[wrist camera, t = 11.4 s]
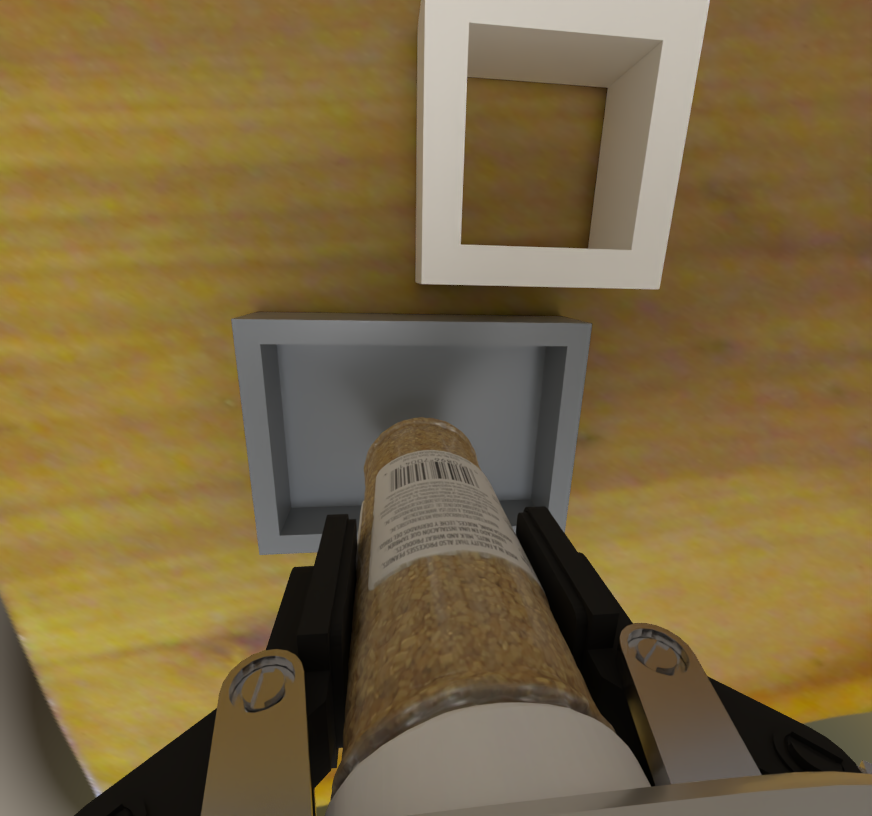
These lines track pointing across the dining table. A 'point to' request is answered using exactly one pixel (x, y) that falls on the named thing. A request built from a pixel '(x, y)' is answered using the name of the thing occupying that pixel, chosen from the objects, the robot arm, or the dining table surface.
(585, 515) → the dining table surface
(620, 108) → the frame
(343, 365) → the charcoal tray
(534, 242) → the dining table surface
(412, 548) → the sprinkles bottle
